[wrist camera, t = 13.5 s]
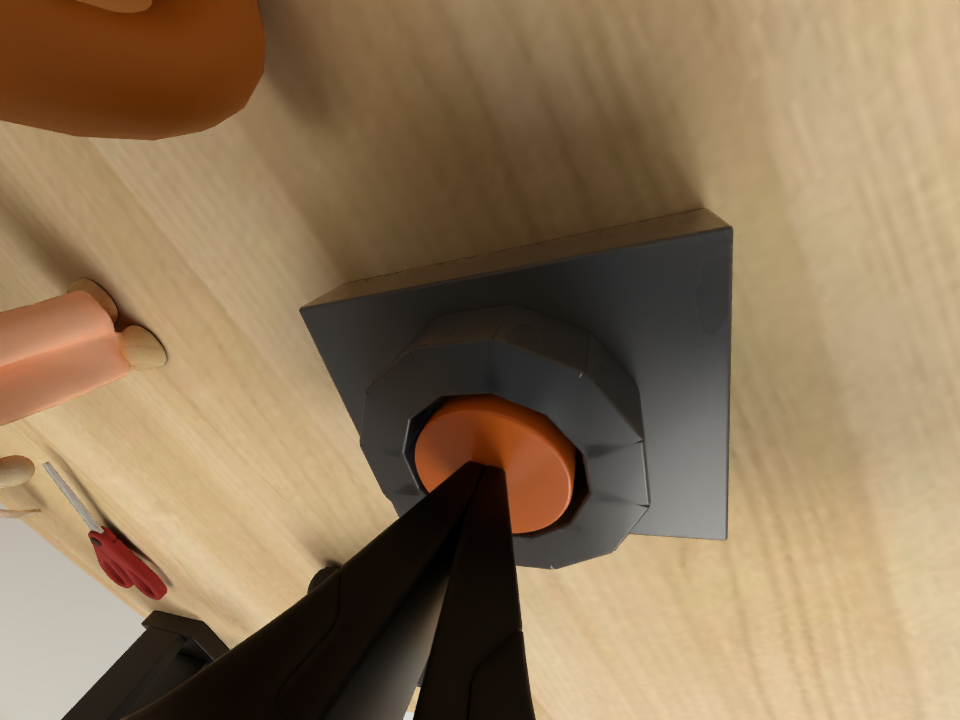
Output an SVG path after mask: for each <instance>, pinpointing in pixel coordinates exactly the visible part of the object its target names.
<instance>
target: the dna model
mask: <svg viewBox="0 0 960 720" xmlns="http://www.w3.org/2000/svg"><path fill="white" fill-rule="evenodd" d="M40 513H43V512H42V511H41V509H33V510H23V511H13V510H2V509H0V517H4V518H23V517H31V516H34V515H38V514H40Z"/></svg>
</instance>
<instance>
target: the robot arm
mask: <svg viewBox="0 0 960 720" xmlns="http://www.w3.org/2000/svg"><path fill="white" fill-rule="evenodd" d="M428 656H429V658H428ZM427 659H428V662H427V666H426V670H425V674H424V678H423V682H422V685H421V689H420V693H419V697H418V701H417V705H416V709H415V713H414V717H413V720H536V719H535V714H534V709H533V703H532V698H531V692H530V685H529V677H528V670H527V663H526V655H525V646H524V636H523V632H522V620H521V611H520V601H519V592H518V583H517V574H516V564H515V555H514V546H513V537H512V528H511V518H510V509H509V500H508V491H507V481H506V473H505V470H504V469H503V468H499V467H494V466H490V465H489V466H487V467H486V465H484V464H482V463H478V462H473V461H468V462H466V463H465V464H464V465H462V466H461V467H460V468H459V469H458V470H456V471H455V472H454V473H453V474H452V475H450V476H449V477H448V478H447V479H446V480H444V481H443V482H442V483H441V484H440V485H438V486H437V487H436V488H435V489H434V490H432V491H431V492H430V493H429V494H428V495H426V496H425V497H424V498H423V499H422V500H420V501H419V502H418V503H417V504H416V505H414V506H413V507H412V508H411V509H410V510H408V511H407V512H406V513H405V514H404V515H402V516H401V517H400V518H399V519H398V520H396V521H395V522H394V523H393V524H392V525H390V526H389V527H388V528H387V529H386V530H384V531H383V532H382V533H381V534H380V535H378V536H377V537H376V538H375V539H374V540H373V541H371V542H370V543H369V544H368V545H367V546H365V547H364V548H363V549H362V550H361V551H359V552H358V553H357V554H356V555H355V556H353V557H352V558H351V559H350V560H349V561H347V562H346V563H345V564H344V565H343V566H342V567H341V570H339V569H338V570H336V571H335V572H334V573H333V574H331V575H330V576H329V577H328V578H327V579H326V580H324V581H323V582H322V583H321V584H319V585H318V586H317V587H316V588H314V589H313V590H312V591H311V592H309V593H308V594H307V595H306V596H304V597H303V598H302V599H301V600H299V601H298V602H297V603H296V604H294V605H293V606H292V607H290V608H289V609H288V610H286V611H285V612H283V613H282V614H281V615H279V616H278V617H277V618H275V619H274V620H272V621H271V622H270V623H268V624H267V625H266V626H264V627H263V628H261V629H260V630H259V631H257V632H256V633H254V634H253V635H251V636H250V637H249V638H247V639H246V640H244V641H243V642H241V643H240V644H238V645H237V646H236V647H234V648H233V649H231V650H230V651H228V652H227V653H226V654H224V655H223V656H221V657H220V658H218V659H217V660H215V661H214V662H213V663H211V664H210V665H208V666H207V667H205V668H204V669H203V670H201V671H200V672H198V673H197V674H195V675H194V676H193V677H191V678H190V679H188V680H187V681H185V682H184V683H182V684H181V685H180V686H178V687H177V688H175V689H174V690H172V691H171V692H169V693H168V694H166V695H165V696H163V697H161V698H160V699H158V700H156V701H155V702H153V703H151V704H149V705H148V706H146V707H144V708H142V709H140V710H138V711H137V712H135V713H133V714H131V715H129V716H127V717H125V718H122V719H120V720H403V717H404V715H405V713H406V710H407V708H408V705H409V703H410V700H411V698H412V696H413V693H414V691H415V688H416V686H417V683H418V681H419V678H420V676H421V674H422V671H423V669H424V666H425V664H426V661H427Z"/></svg>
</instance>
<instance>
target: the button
mask: <svg viewBox="0 0 960 720" xmlns="http://www.w3.org/2000/svg"><path fill="white" fill-rule="evenodd" d="M576 457H577V447H576V446H575V445H574V444H573V443H572V442H571V441H570V440H569V439H568V438H567V437H566V436H565V435H564V434H563V433H562V432H561V431H560V430H559V428H558V427H557V426H556V425H555V424H554V423H553V422H552V421H551V420H550V419H549V418H548V417H547V416H546V415H545V414H543V413H540V412H538V411H535V410H532V409H530V408H527V407H525V406H522V405H520V404H517V403H515V402H512V401H509V400H507V399H504V398H502V397H499V396H497V395H494V394H492V393H486V394H471V395H456V396H444V397H443V399H442V400H441V402H440V403H439V405H438V407H437V408H436V410H435V411H434V413H433V414H432V416H431V417H430V419H429V420H428V422H427V424H426V425H425V427H424V428H423V430H422V431H421V433H420V435H419V437H418V439H417V442H416V447H415V464H416V469H417V472H418V474H419V477H420V479H421V481H422V483H423V484H424V486H425V488H426V489H427V491H428V492H429V493H430V492H431V491H432V490H434V489H435V488H436V487H437V486H438V485H440V484H441V483H442V482H443V481H444V480H446V479H447V478H448V477H449V476H450V475H452V474H453V473H454V472H455V471H456V470H458V469H459V468H460V467H461V466H462V465H464V464H465V463H466V462H468V461H473V462H478V463H482V464H484V465H486V467H487V466H489V465H490V466H494V467H499V468H503V469H504V470H505V473H506V481H507V491H508V500H509V509H510V518H511V528H512V533H525V532H531V531H535V530H539V529H542V528H544V527H546V526H548V525H550V524H552V523H553V522H555V521H556V520H557V519H558V518H559V517H560V516H561V515H562V514H563V513H564V511H565V510H566V509H567V507H568V505H569V503H570V501H571V497H572V493H573V484H574V475H575V466H576Z"/></svg>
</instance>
